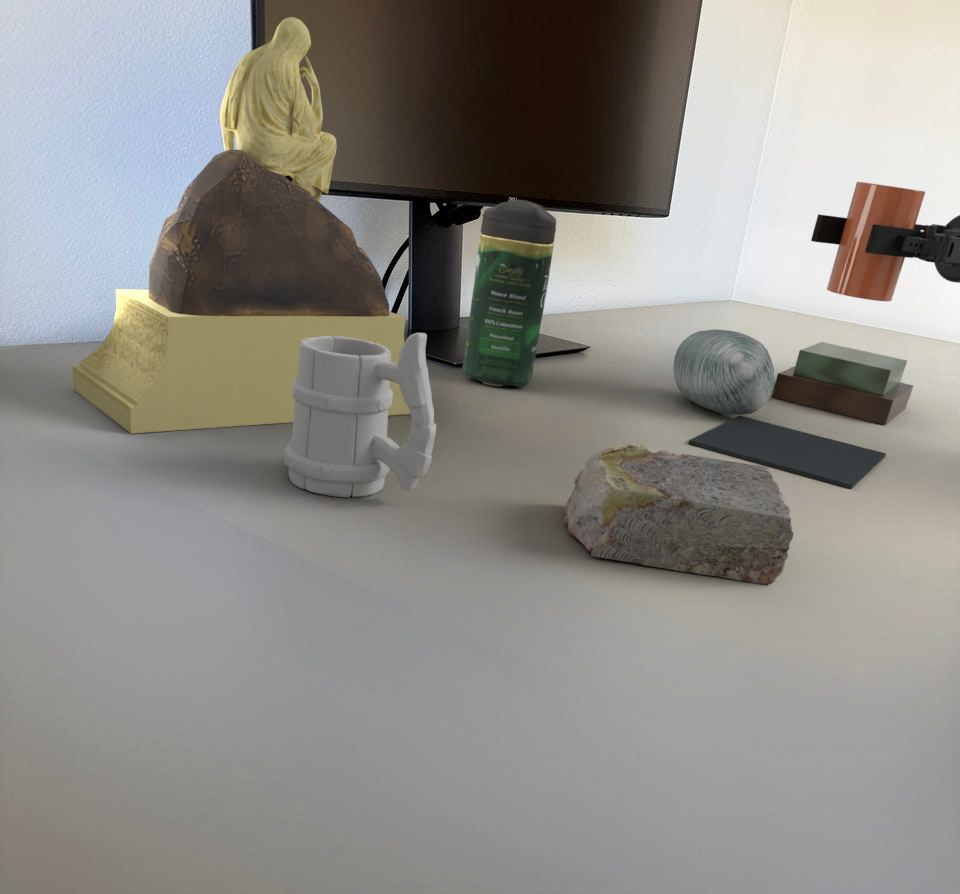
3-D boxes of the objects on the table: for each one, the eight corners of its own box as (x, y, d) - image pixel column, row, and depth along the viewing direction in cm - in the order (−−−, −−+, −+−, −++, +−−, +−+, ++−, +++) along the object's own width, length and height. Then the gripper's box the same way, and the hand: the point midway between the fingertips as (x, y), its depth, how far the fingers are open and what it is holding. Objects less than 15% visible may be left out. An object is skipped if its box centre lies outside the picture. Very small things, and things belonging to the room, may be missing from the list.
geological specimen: (813, 519, 63) (587, 475, 62) (782, 601, 66) (565, 561, 65) (776, 464, 72) (578, 426, 71) (750, 539, 75) (560, 502, 74)
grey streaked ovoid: (669, 404, 118) (642, 342, 110) (733, 355, 117) (710, 290, 110) (736, 456, 108) (711, 391, 101) (805, 403, 108) (785, 335, 100)
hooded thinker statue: (351, 378, 101) (375, 42, 87) (423, 413, 92) (462, 47, 79) (73, 389, 84) (49, -25, 70) (131, 433, 75) (115, -28, 62)
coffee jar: (528, 393, 105) (557, 208, 97) (456, 381, 106) (479, 196, 97) (535, 375, 114) (562, 204, 105) (469, 364, 114) (490, 192, 106)
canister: (897, 299, 109) (930, 192, 104) (884, 303, 103) (919, 190, 98) (835, 287, 112) (864, 183, 107) (819, 290, 106) (850, 180, 101)
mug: (328, 457, 77) (338, 299, 71) (453, 499, 72) (475, 334, 66) (261, 477, 71) (267, 306, 65) (393, 524, 66) (411, 344, 60)
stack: (905, 408, 126) (921, 361, 124) (885, 425, 115) (901, 374, 113) (800, 383, 132) (813, 338, 129) (771, 397, 121) (784, 348, 118)
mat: (884, 456, 101) (886, 453, 101) (851, 489, 89) (852, 484, 89) (738, 418, 108) (739, 415, 108) (688, 443, 95) (689, 439, 95)
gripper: (1046, 300, 107) (906, 288, 97) (903, 269, 123) (769, 255, 112) (1074, 227, 104) (932, 206, 93) (923, 204, 119) (787, 184, 108)
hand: (843, 233), depth 103 cm, fingers closed on canister, 7 cm apart
